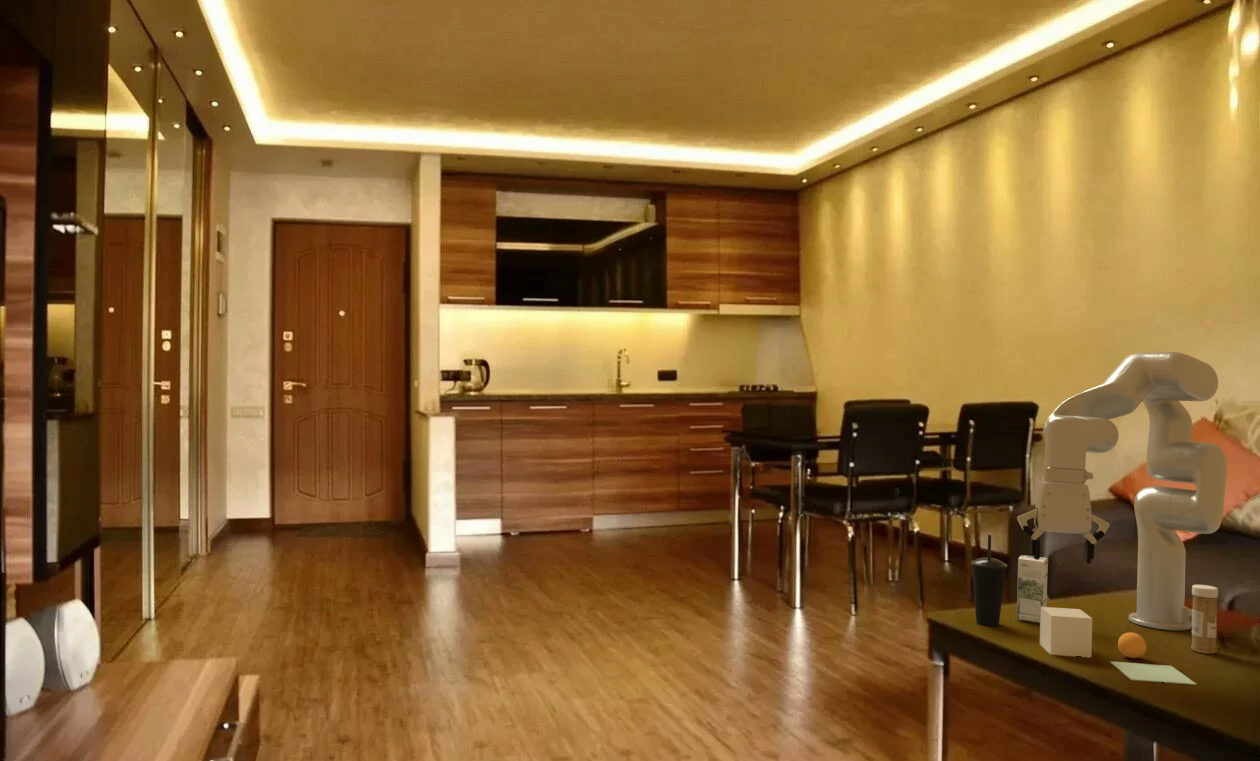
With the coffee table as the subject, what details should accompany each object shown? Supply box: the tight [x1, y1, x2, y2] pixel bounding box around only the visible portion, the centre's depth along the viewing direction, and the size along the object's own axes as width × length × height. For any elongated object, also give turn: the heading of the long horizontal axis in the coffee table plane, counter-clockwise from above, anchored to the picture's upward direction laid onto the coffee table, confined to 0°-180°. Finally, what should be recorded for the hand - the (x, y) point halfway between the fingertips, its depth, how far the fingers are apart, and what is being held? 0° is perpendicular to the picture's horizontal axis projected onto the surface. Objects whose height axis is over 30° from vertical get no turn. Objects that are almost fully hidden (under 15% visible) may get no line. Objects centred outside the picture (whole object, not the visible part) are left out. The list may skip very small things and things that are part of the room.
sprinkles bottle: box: [1190, 584, 1219, 655], centre depth 189 cm, size 5×5×14 cm
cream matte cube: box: [1039, 606, 1093, 658], centre depth 186 cm, size 8×8×8 cm
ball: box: [1117, 632, 1147, 659], centre depth 182 cm, size 5×5×5 cm
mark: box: [1110, 661, 1197, 686], centre depth 173 cm, size 11×11×1 cm
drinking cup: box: [970, 534, 1008, 627], centre depth 207 cm, size 8×8×20 cm
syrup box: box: [1016, 554, 1049, 624], centre depth 211 cm, size 6×6×14 cm
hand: (1061, 560), depth 186 cm, fingers open, 9 cm apart
